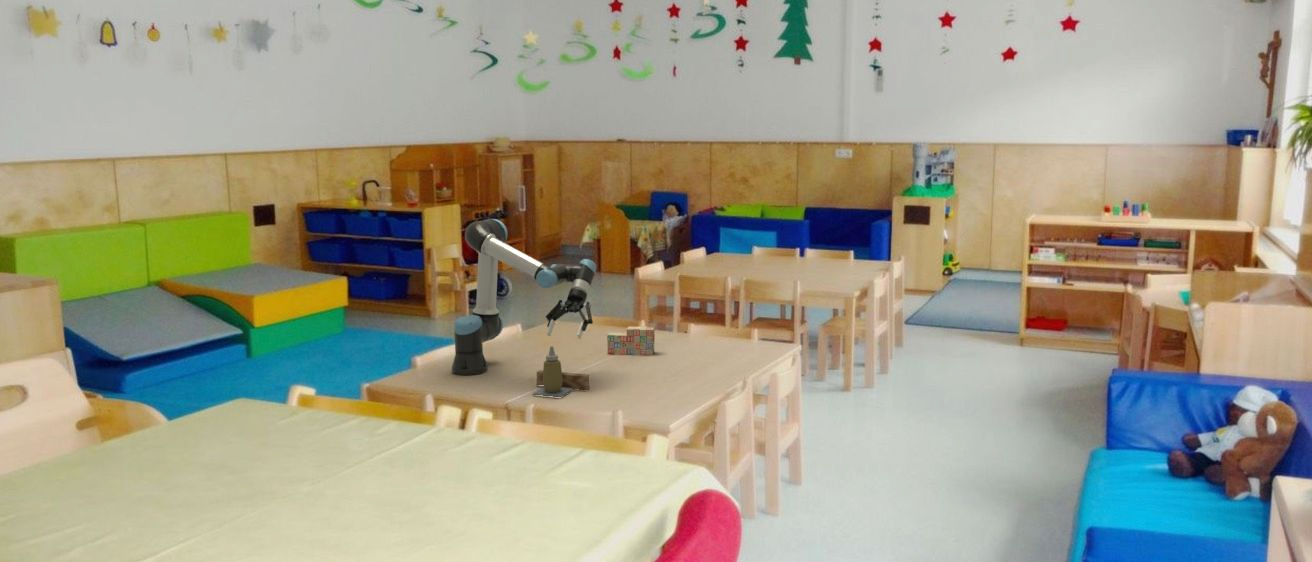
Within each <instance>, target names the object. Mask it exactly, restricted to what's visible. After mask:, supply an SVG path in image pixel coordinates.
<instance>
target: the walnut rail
mask: <svg viewBox="0 0 1312 562" xmlns="http://www.w3.org/2000/svg"><path fill="white" fill-rule="evenodd" d="M562 378H563V383H562V386H561V387H564V388H573V389H579V390H578V391H580V390H587V391H589V390H590V374H588V373H587V374H586V373H576V372H575V373H574V372H564V371H562ZM542 381H543V369H540V370H537V371H536V386H537V385H543V383H542ZM588 389H589V390H588Z"/></svg>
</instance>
